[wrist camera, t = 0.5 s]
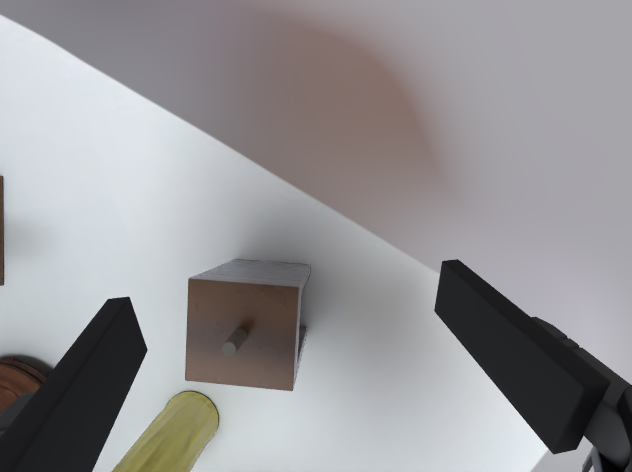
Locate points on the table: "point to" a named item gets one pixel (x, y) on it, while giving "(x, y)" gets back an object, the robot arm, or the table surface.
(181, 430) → the vase
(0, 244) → the rack
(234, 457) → the table surface
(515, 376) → the robot arm
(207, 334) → the wooden stand with peg
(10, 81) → the table surface
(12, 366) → the scroll
